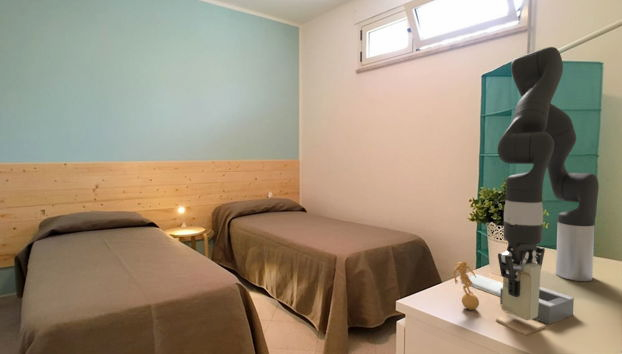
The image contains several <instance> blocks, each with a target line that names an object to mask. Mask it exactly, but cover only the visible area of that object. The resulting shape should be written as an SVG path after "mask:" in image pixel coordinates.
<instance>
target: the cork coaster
mask: <svg viewBox="0 0 622 354" xmlns="http://www.w3.org/2000/svg"><path fill="white" fill-rule="evenodd" d="M495 321H496V322H497V323H499V324H502V325H504V326H506V327H509V329H512V330H514V331H516V332H518V333H520V334H523V335H525V336H527V335H530V334H532V333H535V332H537V331H540V330H542V329H544V328H545V329H546V325H545V324H543V323H542V322H539V321H537V320H534V319H531V320H528V321H527V320H524V319H522V318H520V317H517V316H515V315H513V314H510V313H508V314H506V315H503V316H500V317H497V318H496V319H495Z"/></svg>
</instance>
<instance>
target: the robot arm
mask: <svg viewBox="0 0 622 354" xmlns="http://www.w3.org/2000/svg"><path fill="white" fill-rule="evenodd" d="M562 58H563V57H562V55H561V53H560V51H559V49H558V48H556V47H554V46H549V47H544V48H541V49H537V50H536V51H532V52H529V53H526V54H523V55H521V56H518V57H516V58H514V59H513V60H512V61H511V65H510V70H511V75H512V78H513V80H514V84H515V87H516V89H517V90H518V92H519V94H520V97H521V98H520V99H519V101H518V102H517V104H516V106H515V109H514V113H513V118H512V121H511V123H510V124H509V126H508V128H507V129H506V130H505V131H504V132H503V134H502V136H501V138H500V140H499V141H498V144H497V155H498V157H499V159H500V160H501V161H502V162H503V163H505V164H510V165H511V164H512V165H515V164H516V165H517V164H518V165H532V168H531V169H530V170H529V171H527V172H522V173H516V174H512V175H509V176H507V178H506V181H505V202H504V203H505V204H504V208H503V209H504V210H503V233H502V234H503V235H502V237H503V239H504V240H505V241H506V242H507V243H508V244H507V248H506V251H505V252H503V253H502V252H498V253H497V258H498V266H499V270H500V277H502V278H503V277H505V278H508V293H509V295H512V296H514V297H519V296H520V281H519V280H520V276H521V272H523V270H524V267H523V266H525V264H528V263H532V264H539V265H541V268H542V266H543V262H544V256H545V253H546V252H545V251H546V249H545V248H544V247H540V246H537V245H540V244H541V243H542V242H543V228H544V227H543V225H544V222H543V221H544V209H543V189H544V188H543V187H544V180H545V175H546V171H547V172H548V173H547V175H548V177H549V181H550V186H551V190H552V193H553V195H554V197H555V198H556V199H558V200H559V201H563V202H571V203H578V206H577V207H576V208H575V209H572V210H568V211H562V212H559V213H558V215H557V225H556V226H557V227H556V228H557V230H556V231H557V233H556V255H555V257H556V259H555V260H556V261H555V275H557V276H558V277H561V278H564V279H567V280H570V281H576V282H577V281H579V282H591V281H592V280H593V273H594V272H593V270H594V249H595V248H594V247H595V223H596V221H595V220H596V215H597V209H598V208H597V205H598V197H599V186H600V185H599V179H598V176H597V175H595V174H594V173H590V172H589V173H586V172H568V171H567V169H566V166H565V165H566V164H565V163H566V160H567V158H568V157H569V155H570V153H571V152H572V150H573V148H574V146H575V144H576V141H577V135H576V131H575V128H574V125H573V121H572V118H571V117H570V116H569V114H568V113H566V112H565V111H564V110H562V109H561V108H559V107H557V106H555V105H554V104H552V100H553V97H554V95H555V93H556V92H557V89H558V86H559V84H560V81H561V78H562V75H563V70H564V69H563V68H564V67H563V66H564V63H563V60H562ZM513 263H514V264H517V265H520V266H519V267H516V266H513ZM514 269H515V270H516V274H515V273H514ZM506 270H507V272H506Z"/></svg>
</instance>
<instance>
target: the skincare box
mask: <svg viewBox="0 0 622 354" xmlns="http://www.w3.org/2000/svg"><path fill="white" fill-rule="evenodd" d="M513 266H516V267H519V266H520V265H517V264H514V263H513ZM523 267H524V270H523V272H521V276H520V280H519V281H520V296H519V297H514V296H512V295H509V293H508V278H505V277H502V278H503V279H502V283H503V294H502V304H501V310H502V311H504V312H506V313H508V314H513V315H515V316H517V317H520V318H522V319H524V320H527V321H528V320H531V319H532V320H534V319H536V318H535V317H538V305H539V289H540V287H541V286H540V284H541V271H542V267H541V265H539V264H537V263H536V264H532V263H528V264H525V266H523ZM506 272H507V270H506ZM514 273H515V274H516V270H515V269H514Z"/></svg>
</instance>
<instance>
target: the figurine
mask: <svg viewBox="0 0 622 354" xmlns="http://www.w3.org/2000/svg"><path fill="white" fill-rule="evenodd" d="M467 270H469V271H470V273H472V274H473V275H474V276H475V275H476V274H475V272H474V271H473V270H472V269H471V267H470V266H469V265H467V262H466V261H464V260H463V261H462V262H461V261H458V262H456V264H455V268H454V269H453V271H452V272H453V278H454V284H456V285H458V283H459V281H458V280H457V273H456V272H457V271H458V273H459V274H460V276H459V279H460V281H462V282H463V283H462V282H461V283H462V284H463V286H462V289H463V292H464V293H465V294H463V296H462V298H461V303H462V305H463V306H464V308H465V309H467V310H470V311H472V310H476V309H477V308H478V307H480V306H479V305H480V301H479V298H478V297H477V296H476V295H475V294H474V293H473V292H472V291H471V289H470V287H472V286H471V285H472V281H471V280H470V279H469V277H470V276H469V275H468V274H467ZM475 277H476V276H475ZM467 282H468V283H469V284H468V283H467ZM466 289H467V290H466Z"/></svg>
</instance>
